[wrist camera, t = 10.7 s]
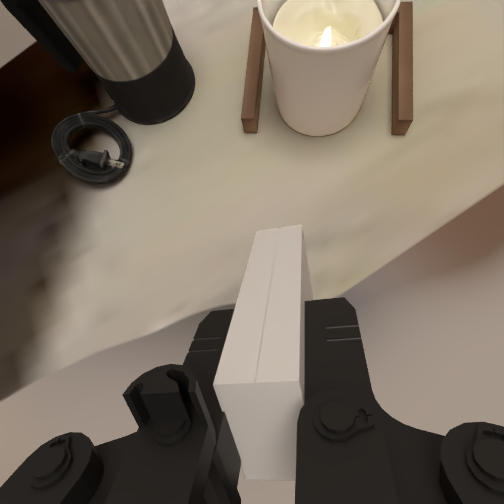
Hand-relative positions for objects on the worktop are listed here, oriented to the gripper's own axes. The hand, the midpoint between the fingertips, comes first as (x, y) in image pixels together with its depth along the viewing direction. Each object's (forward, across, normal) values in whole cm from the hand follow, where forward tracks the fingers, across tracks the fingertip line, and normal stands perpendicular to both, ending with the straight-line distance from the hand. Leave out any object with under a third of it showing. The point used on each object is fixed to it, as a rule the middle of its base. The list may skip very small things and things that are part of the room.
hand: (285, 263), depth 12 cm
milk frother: (+28, -17, +4) cm, 33 cm away
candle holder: (+29, +2, +2) cm, 29 cm away
